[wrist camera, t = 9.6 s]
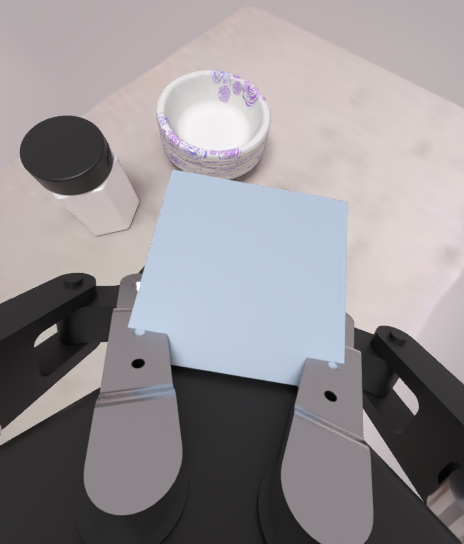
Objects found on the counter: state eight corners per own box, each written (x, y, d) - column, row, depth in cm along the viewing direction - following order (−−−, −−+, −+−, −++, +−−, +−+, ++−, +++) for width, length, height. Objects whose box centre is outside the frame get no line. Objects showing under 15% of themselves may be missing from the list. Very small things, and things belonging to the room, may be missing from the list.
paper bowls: (266, 124, 44) (277, 77, 36) (255, 202, 39) (265, 166, 32) (176, 108, 44) (169, 57, 36) (155, 185, 39) (141, 145, 32)
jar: (151, 210, 38) (124, 149, 26) (106, 247, 36) (55, 198, 24) (111, 173, 39) (68, 99, 28) (65, 206, 37) (-2, 142, 26)
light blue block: (180, 356, 17) (119, 356, 6) (196, 283, 19) (172, 169, 7) (255, 368, 17) (343, 393, 6) (264, 295, 19) (347, 201, 7)
